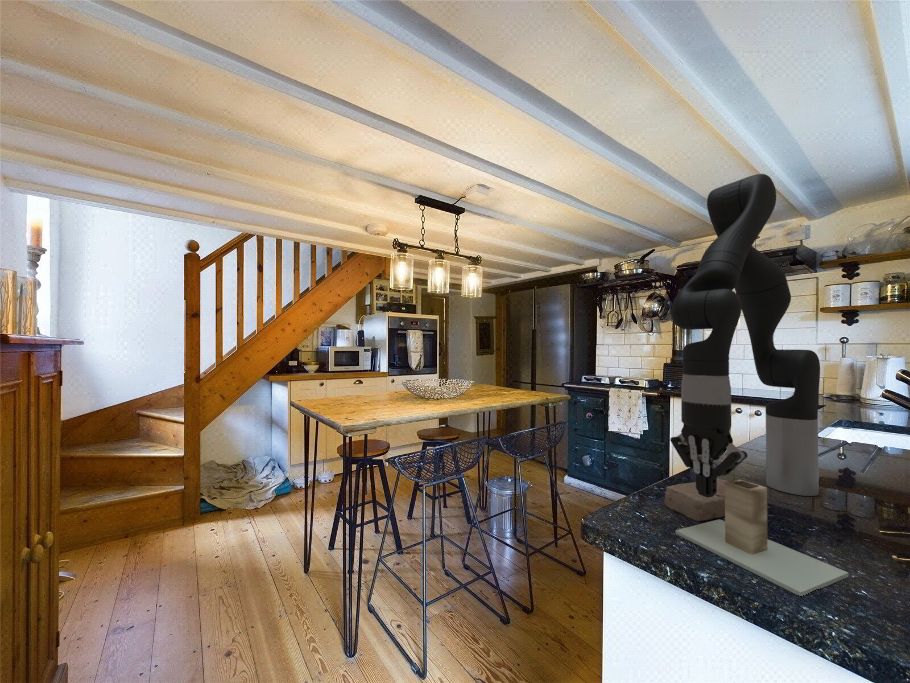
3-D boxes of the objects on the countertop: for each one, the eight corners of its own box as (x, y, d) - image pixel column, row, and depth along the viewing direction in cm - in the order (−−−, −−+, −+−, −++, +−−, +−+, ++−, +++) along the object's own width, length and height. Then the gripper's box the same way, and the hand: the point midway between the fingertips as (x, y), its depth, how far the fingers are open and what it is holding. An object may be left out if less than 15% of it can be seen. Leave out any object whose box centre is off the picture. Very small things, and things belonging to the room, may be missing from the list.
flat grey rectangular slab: (719, 522, 70) (719, 519, 70) (848, 576, 53) (848, 572, 53) (675, 533, 66) (675, 530, 66) (801, 596, 49) (801, 592, 49)
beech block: (740, 538, 63) (739, 478, 63) (767, 549, 59) (766, 486, 60) (725, 542, 62) (724, 481, 62) (752, 554, 58) (751, 490, 58)
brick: (699, 523, 70) (699, 499, 70) (662, 506, 78) (662, 483, 78) (758, 512, 76) (758, 489, 76) (717, 496, 83) (717, 476, 84)
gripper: (759, 404, 62) (760, 507, 62) (685, 394, 75) (685, 480, 74) (730, 406, 59) (731, 514, 59) (658, 396, 72) (658, 485, 71)
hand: (706, 495), depth 67 cm, fingers closed
